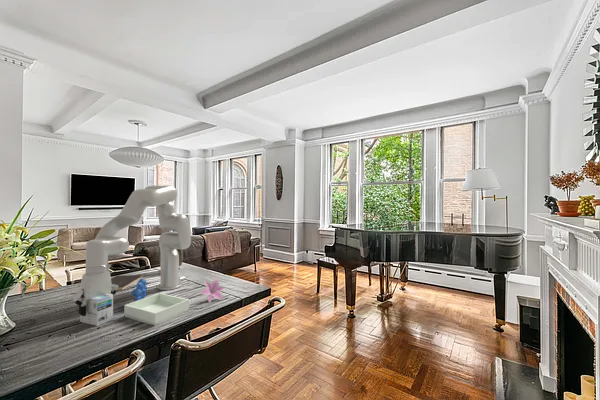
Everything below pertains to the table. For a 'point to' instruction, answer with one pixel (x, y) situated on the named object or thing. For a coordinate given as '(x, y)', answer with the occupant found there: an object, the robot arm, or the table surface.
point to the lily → (213, 290)
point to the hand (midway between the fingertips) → (96, 311)
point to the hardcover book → (125, 280)
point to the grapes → (140, 290)
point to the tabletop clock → (179, 257)
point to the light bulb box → (98, 310)
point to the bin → (156, 308)
